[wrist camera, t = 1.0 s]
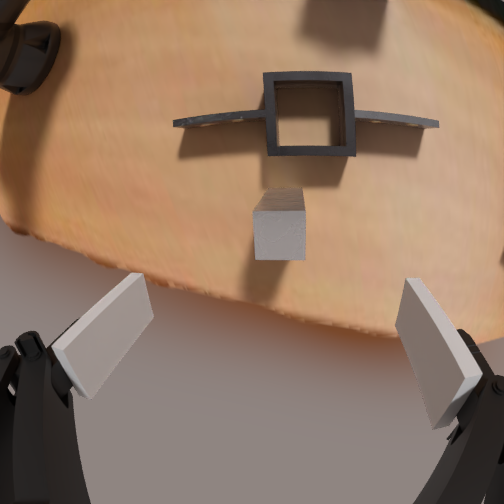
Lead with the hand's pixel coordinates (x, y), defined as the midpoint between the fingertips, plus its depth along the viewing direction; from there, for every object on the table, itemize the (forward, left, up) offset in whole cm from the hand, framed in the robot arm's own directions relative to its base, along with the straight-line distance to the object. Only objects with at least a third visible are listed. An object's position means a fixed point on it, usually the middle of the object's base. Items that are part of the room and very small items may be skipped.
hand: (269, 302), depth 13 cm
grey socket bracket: (-6, +9, -21) cm, 24 cm away
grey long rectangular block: (0, 0, -21) cm, 21 cm away
